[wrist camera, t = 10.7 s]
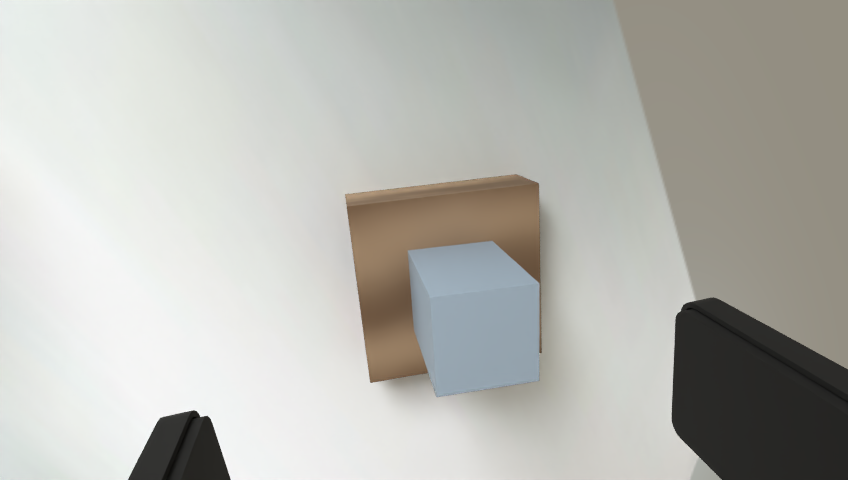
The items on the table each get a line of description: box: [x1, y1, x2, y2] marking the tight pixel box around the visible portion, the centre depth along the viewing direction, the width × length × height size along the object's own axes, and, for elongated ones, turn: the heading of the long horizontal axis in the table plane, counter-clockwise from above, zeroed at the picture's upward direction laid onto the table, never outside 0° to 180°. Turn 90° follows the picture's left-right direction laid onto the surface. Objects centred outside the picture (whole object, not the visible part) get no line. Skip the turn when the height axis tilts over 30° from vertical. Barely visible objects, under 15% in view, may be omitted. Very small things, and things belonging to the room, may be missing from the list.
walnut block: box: [345, 174, 541, 383], centre depth 31 cm, size 11×11×4 cm
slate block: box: [408, 241, 539, 397], centre depth 26 cm, size 5×5×7 cm
